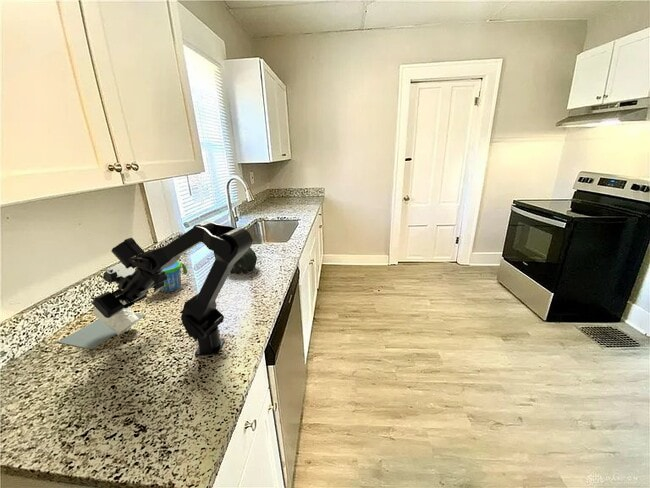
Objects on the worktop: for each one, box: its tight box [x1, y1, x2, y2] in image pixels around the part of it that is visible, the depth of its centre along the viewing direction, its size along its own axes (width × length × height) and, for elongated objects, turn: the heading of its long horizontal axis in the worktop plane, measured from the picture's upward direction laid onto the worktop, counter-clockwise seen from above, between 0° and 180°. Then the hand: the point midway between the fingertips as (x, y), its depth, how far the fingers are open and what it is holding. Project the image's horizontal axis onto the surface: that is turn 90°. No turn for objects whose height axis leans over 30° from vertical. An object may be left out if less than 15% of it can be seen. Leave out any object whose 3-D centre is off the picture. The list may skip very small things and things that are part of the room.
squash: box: [229, 247, 258, 275], centre depth 130 cm, size 14×15×15 cm
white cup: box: [91, 306, 140, 336], centre depth 86 cm, size 8×8×10 cm
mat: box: [57, 313, 146, 350], centre depth 90 cm, size 14×18×1 cm
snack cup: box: [151, 260, 188, 292], centre depth 115 cm, size 16×11×10 cm
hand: (120, 306), depth 85 cm, fingers closed
